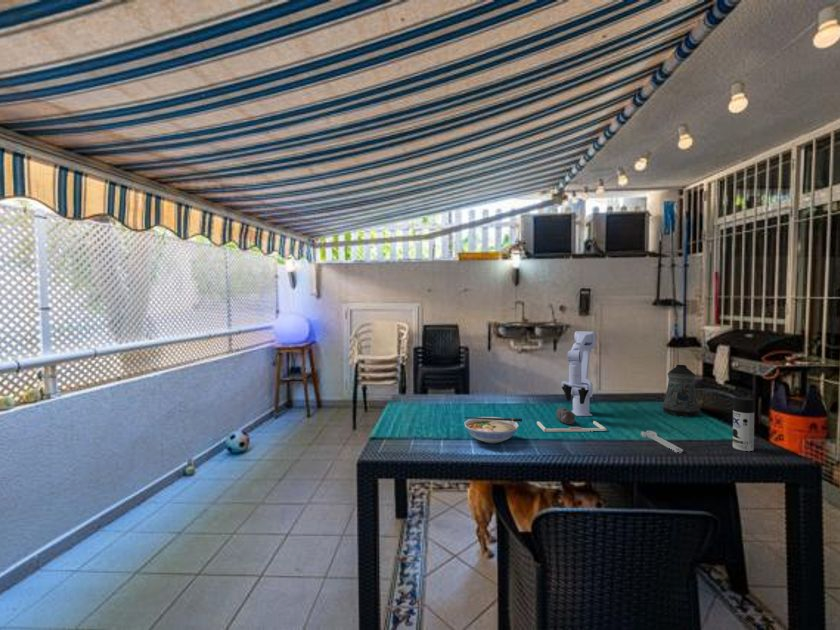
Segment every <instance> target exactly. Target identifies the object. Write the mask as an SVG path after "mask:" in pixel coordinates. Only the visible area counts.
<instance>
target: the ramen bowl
mask: <svg viewBox="0 0 840 630" xmlns="http://www.w3.org/2000/svg"><path fill="white" fill-rule="evenodd" d="M464 419H467V420H466V421H464V427H465V429H466V431H467V432H468V433H469V434H470V436H472V437H473V438H475V439H476V440H479V441H480V442H483V443H485V444H493V445H494V444H499V443H501V442H504V441H505V442H506V441H508V440H509V439H511V438H512V436H513V435H514V434H515V433H516V431H517V430H518V428H519V424H518V422H521V423H522V422H523V419H522V418H508V417H507V418H504V417H498V416H480V417H479V416H478V417H473V416H472V417H471V416H469V417H467V416H465V417H464Z"/></svg>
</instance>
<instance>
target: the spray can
mask: <svg viewBox="0 0 840 630" xmlns="http://www.w3.org/2000/svg"><path fill="white" fill-rule="evenodd" d="M732 399H733V402H732V448H733V449H735V450H738V451H739V452H740V451H742V452H745V451H748V452H747V453H749V452H750V451H752V452H754V449H755V399H754V398H750V397H746V396H745V397H744V396H734V397H733V398H732Z"/></svg>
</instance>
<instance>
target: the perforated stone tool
mask: <svg viewBox="0 0 840 630" xmlns="http://www.w3.org/2000/svg"><path fill="white" fill-rule="evenodd" d="M572 411H573V410H570V409H568V408H565V407H558V408H557V409H556V412H555V413H556V418H557V419H558V420H559V422H561V423H562V424H565V425H573V424H574V423H576V422H575V418H576V417H575V416H576V415H575V414H574V413H573V412H572Z"/></svg>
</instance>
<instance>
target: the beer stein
mask: <svg viewBox="0 0 840 630" xmlns="http://www.w3.org/2000/svg"><path fill="white" fill-rule="evenodd" d="M667 376H668V382H667V383H668V384H667V387H666V393H665V398H664V401H663V402H662V411H663V413H664V412H665V413H664V414H666V413H668V414H667V415H669V414H671V415H670V416H674V415H676V416H675V417H680V416H683V417H682V418H695V417H694V416H696V417H699V413H700V410H701V408H700V407H699V404H698V399H697V392H696V386H695V379H696V374H695V373H694V372H693V371H692V370H690V368H688V367H687V365H685V364H676V366H675V367H674V368H672V369H670V370H669V371H668V373H667Z"/></svg>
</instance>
